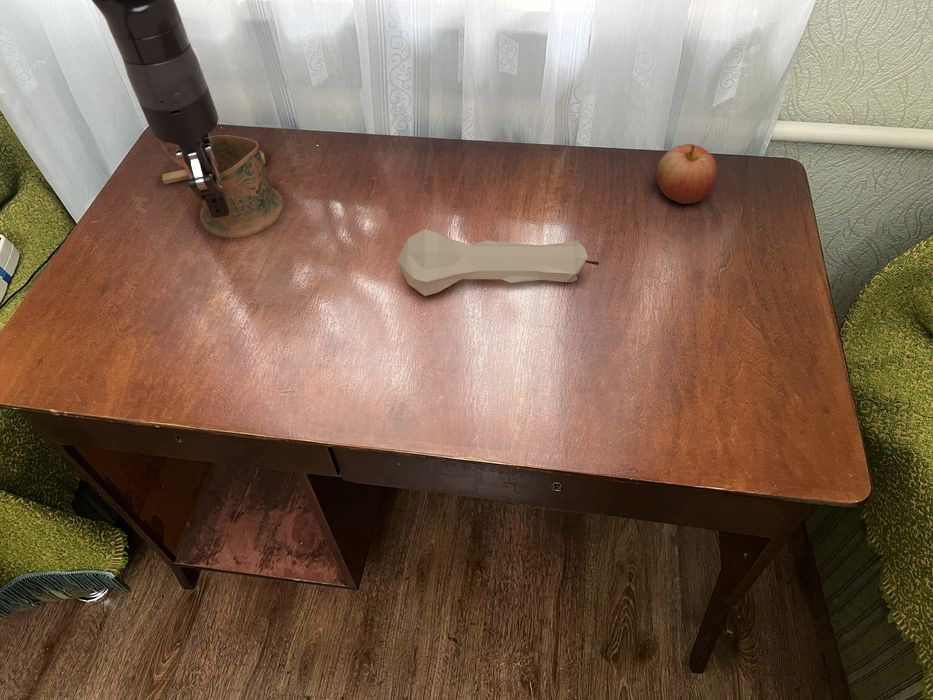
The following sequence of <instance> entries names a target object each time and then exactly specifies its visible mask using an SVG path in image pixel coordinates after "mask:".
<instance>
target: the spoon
mask: <svg viewBox="0 0 933 700" xmlns="http://www.w3.org/2000/svg"><path fill="white" fill-rule="evenodd" d="M259 151H260V154H261V157H262V160H263V164H264V166H265V165H266V162H267V160H266V156H265V153H264V152H263V151H262V150H260V149H259ZM161 177H162V178H161V180H162V183H163V184H164V185H167V184H172V183H177V182H182V181H186V180H187V181H188V179H189V177H188V175H187V172H186V170H185V169H181V170H176V171H170V172H167V173H166V172H165V173H161Z"/></svg>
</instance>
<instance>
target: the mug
mask: <svg viewBox="0 0 933 700" xmlns="http://www.w3.org/2000/svg"><path fill="white" fill-rule="evenodd" d="M210 136H211V139H212V144H213V147H212V148H213V150H214V153H215V156H216V159H217V162H218V171H219V178H220V179H221V182H220V183H221V187H222V191H223V194H224V196H225V199H226V202H227V204H228V209H229V214H228V215H227V216H223V217H219V218H213V217H212V216H211V213H210V211H209V208H208V206H207V204H206V201H205V200H203V201H201V200H200V199H199V201H200V203H201V205H202V206H201V208H200V213H199V217H200V223H201V225H202V226H203V227H204V229H205V230H206V231H208V232H209V233H210V234H212V235H215V236H216V237H217V236H218V237H221V238H228V239H236V238H243V237H248V236H253V235H255V234H257V233H260V232H262V231H265V230H266V229H268V228H269V227H270V226H272V225H273V224H274V223H275V222H276V221H277V220H278V219H279V218H280V216H281V214H282V212H283V209H284V201H283V197H282V195H281V193H280V192H279V191H278V190H277V189H275V188H274V187H273V186H272V184H271V181H270V179H269V176H268V172H267V169H266V166H265V165H264V164H263V160H262V157H261V154H260V151H261V150H260V147H259V143H258V142H257V141H256V140H254V139H251V138H247V137H243V136H236V135H231V134H218V135H217V134H215V135H210ZM157 141H158V143H159V145H160V146H161V148H162V149H163V151H164V152H165V154H166V155H167V156H168V157H169V158H170V159H171V160H172V161H173V162H175V163H176V164H177V165H179V166H181V167H182V168H183V169H185V168H184V166H182V165H181V164H180V162H179V159H178V157H177V154H176V150H175V149H174V148H173V147H172V145H171V143H167V142H163V141H161V140H159V139H157ZM259 150H260V151H259Z"/></svg>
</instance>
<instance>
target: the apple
mask: <svg viewBox="0 0 933 700" xmlns="http://www.w3.org/2000/svg"><path fill="white" fill-rule="evenodd" d="M655 175H656V181H657V185H658V187H659V189H660V191H661V192H662V194H663V195H664V196H665V197H666V198H668V199H670V200H672V201H674V202H676V203H679V204H684V205H686V204H694V203H697V202H700V201H702V200H704V199H705V198H706V197H708V195H710V193H711V192H712V191H713V189H714V187H715V185H716V182H717V176H718V165H717V161H716V159H715V157H714V156H713V155H712V154H711V153H710V152H709V151H708V150H707V149H705V148H704V147H701V146H699V145H696V144H693V143H687V144H681V145H677V146H674V147H673V148H670V150H668V151H667V152H666V153H665V154H663V156H662V157H661V159H660V160H659V161H658V164H657V167H656V173H655Z"/></svg>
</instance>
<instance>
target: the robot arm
mask: <svg viewBox="0 0 933 700" xmlns="http://www.w3.org/2000/svg"><path fill="white" fill-rule="evenodd" d="M91 1H92V3H93V4H94V5H95V7H96V8H97V9H98V10H99V11H100V13H101V15H102V16H103V18H104V19H105V21H106V24H107V26H108V29H109V32H110V34H111V36H112V39H113V41H114V43H115V45H116V49H117V50H118V52H119V54H120V56H121V59H122V61H123V65H124V68H125V69H124V70H125V73H126V76H127V78H128V81H129V84H130V85H131V88H132V90H133V92H134V95H135V98H136V99H137V102H138V104H139V106H140V108H141V110H142V112H143V115H144V117H145V119H146V122H147V125H148V126H149V129H150V131H151V133H152V135H153V136H154V137H155V138H156V139H157V140H158V139H159V140H161V141H163V142H167V143H169V144H172V145H173V144H174V145H176V148H177V149H175V152H176V154H177V157H178V159H179V162H180V164H181V165H182V166H184V168H183V169H184V170H186V172H187V175H188V177H189V179H187V181H188V182H187V186H188V187H189V188H190V190H191V191H192V192H193V193H194V194H195V196H196V197H197V198H198V200H199V201H200V200H201V201H203V200H205V201H206V204H207V206H208V208H209V211H210V213H211V216H212V217H213V218H219V217H223V216H227V215H228V214H229V209H228V204H227V202H226V199H225V196H224V194H223V191H222V187H221V183H220V182H221V179H220V178H219V171H218V162H217V159H216V156H215V153H214V150H213V148H212V147H213V144H212V139H211V136H212V135H211V132H213V130H215V128H216V127H217V125H218V122H219V115H218V112H217V108H216V106H215V102H214V101H213V97H212V95H211V91H210V89H209V85H208V83H207V80H206V77H205V75H204V72H203V68H202V65H201V63H200V60H199V58H198V56H197V54H196V52H195V51H194V48H193V47H192V44H191V42H190V39H189V36H188V33H187V29H186V28H185V24H184V22H183V20H182V19H183V18H182V16H181V14H180V11H179V9H178V6H177V3H176V2H175V0H91ZM181 165H180V166H181ZM182 166H181V167H182ZM201 201H200V202H201Z"/></svg>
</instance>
